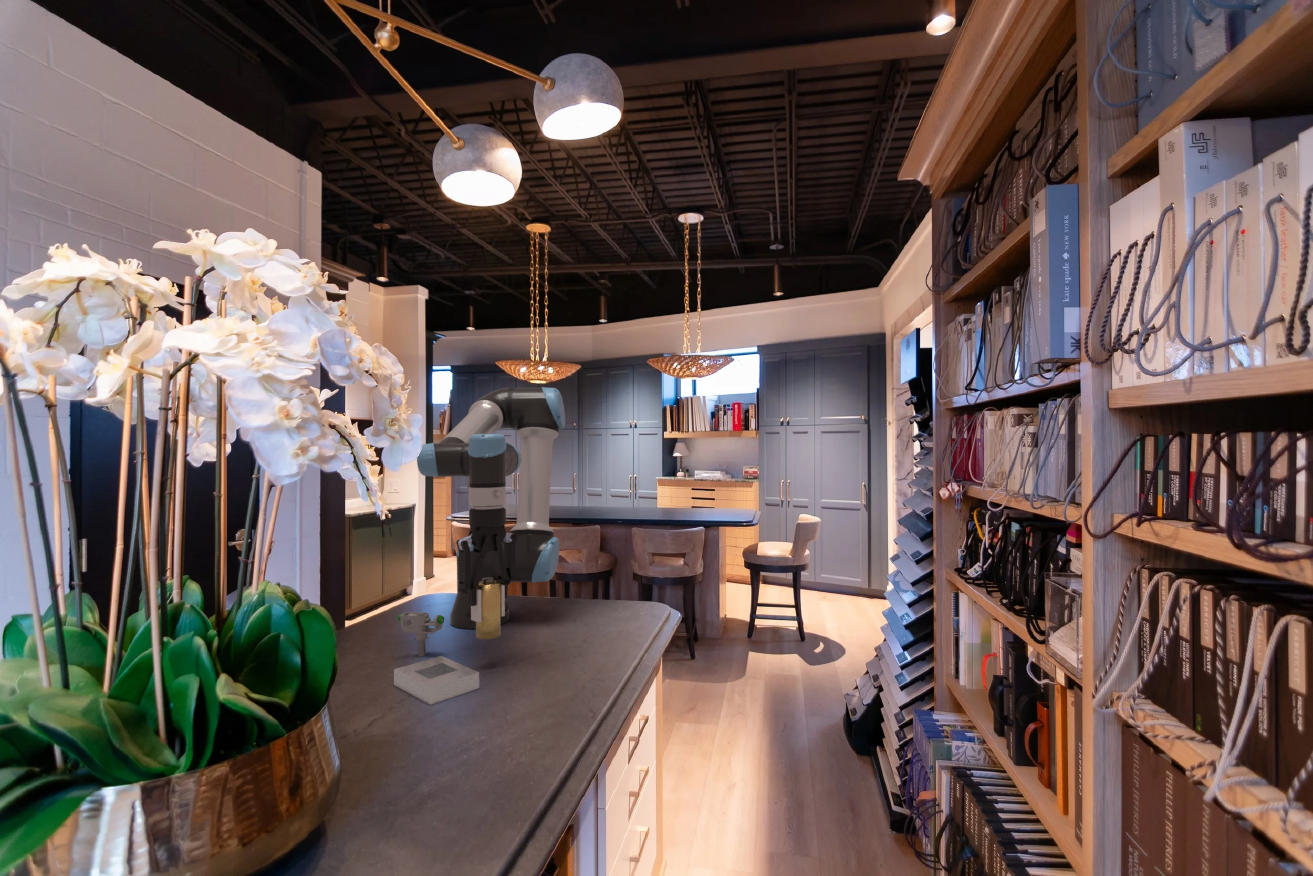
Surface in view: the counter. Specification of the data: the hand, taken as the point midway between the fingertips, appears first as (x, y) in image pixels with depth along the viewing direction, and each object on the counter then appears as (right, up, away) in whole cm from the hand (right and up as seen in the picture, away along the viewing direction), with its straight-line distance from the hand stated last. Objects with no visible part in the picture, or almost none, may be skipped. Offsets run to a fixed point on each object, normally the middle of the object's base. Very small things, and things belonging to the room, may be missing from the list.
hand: (488, 617), depth 133 cm
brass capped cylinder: (0, -4, 0) cm, 4 cm away
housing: (-7, -11, -11) cm, 17 cm away
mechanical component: (-17, -11, +7) cm, 21 cm away
